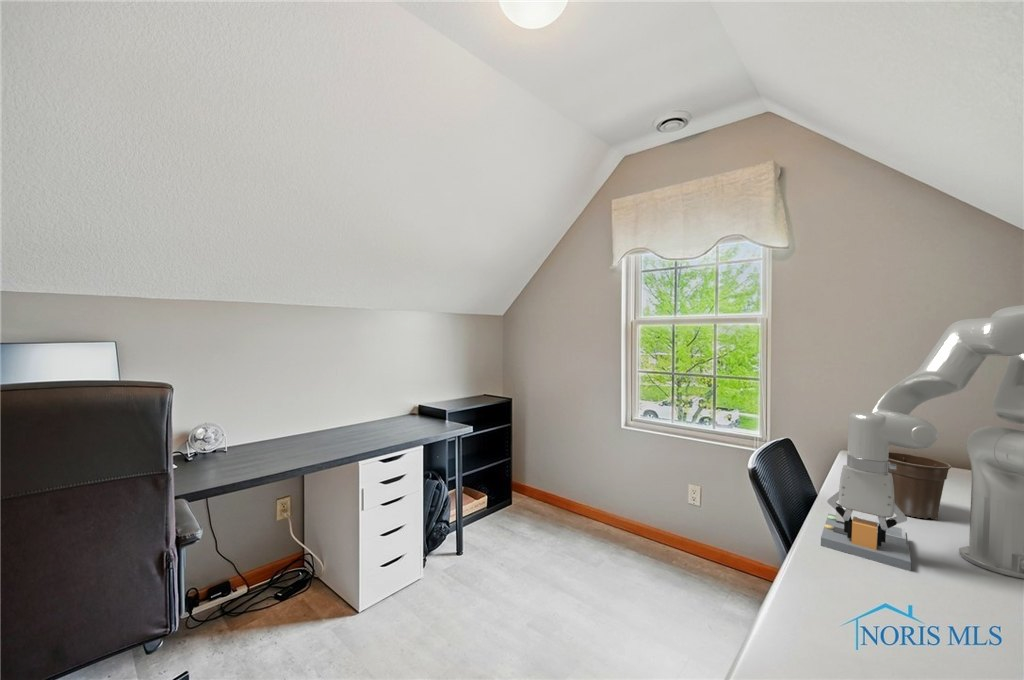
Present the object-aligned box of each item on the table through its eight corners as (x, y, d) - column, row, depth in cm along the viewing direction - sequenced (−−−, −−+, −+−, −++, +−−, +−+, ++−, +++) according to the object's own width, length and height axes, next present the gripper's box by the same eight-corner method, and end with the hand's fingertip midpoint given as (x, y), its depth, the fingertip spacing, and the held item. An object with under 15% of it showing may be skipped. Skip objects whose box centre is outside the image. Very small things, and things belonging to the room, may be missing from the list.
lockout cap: (876, 550, 97) (877, 528, 97) (851, 543, 100) (852, 522, 100) (876, 543, 100) (877, 522, 100) (852, 537, 103) (853, 516, 103)
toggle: (850, 523, 110) (850, 509, 110) (835, 520, 112) (836, 506, 112) (850, 520, 112) (851, 506, 112) (836, 517, 114) (837, 503, 114)
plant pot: (939, 510, 128) (941, 457, 128) (957, 529, 115) (959, 470, 115) (870, 497, 137) (872, 448, 137) (879, 513, 124) (881, 459, 124)
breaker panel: (910, 571, 92) (911, 556, 92) (820, 545, 102) (821, 532, 102) (906, 540, 107) (906, 527, 107) (828, 520, 117) (828, 509, 117)
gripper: (915, 469, 97) (912, 547, 97) (824, 454, 109) (821, 524, 109) (917, 476, 92) (914, 559, 92) (821, 459, 103) (818, 533, 103)
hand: (864, 539), depth 100 cm, fingers open, 4 cm apart
